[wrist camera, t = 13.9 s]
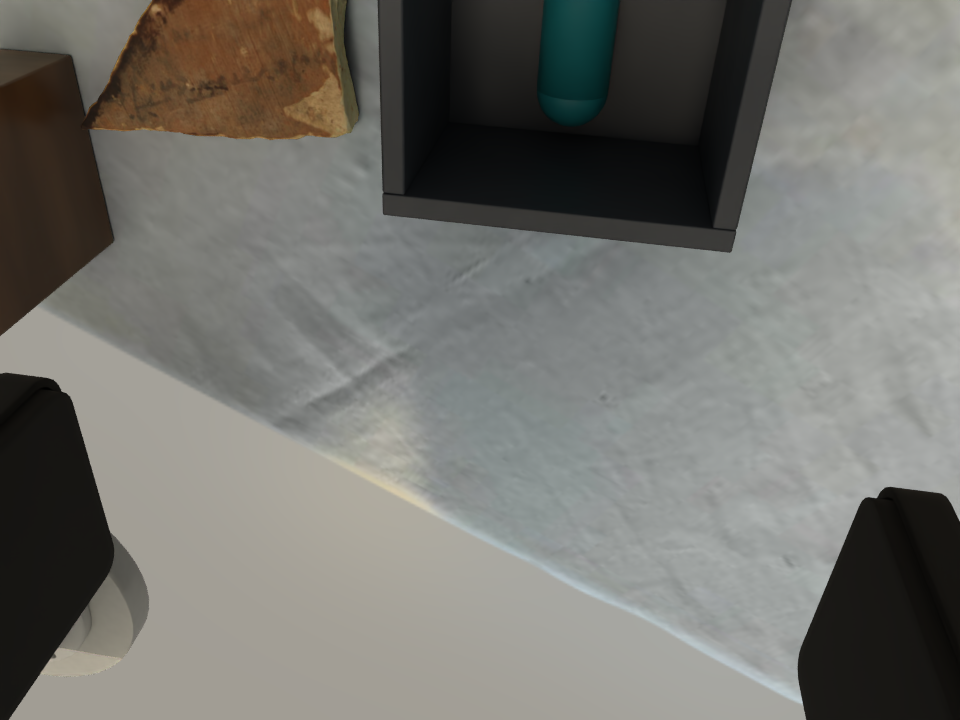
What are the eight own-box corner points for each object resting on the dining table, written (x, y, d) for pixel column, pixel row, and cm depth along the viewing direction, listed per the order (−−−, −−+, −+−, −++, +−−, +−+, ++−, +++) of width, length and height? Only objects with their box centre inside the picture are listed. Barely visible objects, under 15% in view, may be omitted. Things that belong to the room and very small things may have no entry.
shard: (100, 118, 33) (74, 132, 32) (43, -100, 29) (11, -95, 27) (361, 132, 32) (348, 148, 30) (343, -95, 27) (326, -89, 26)
